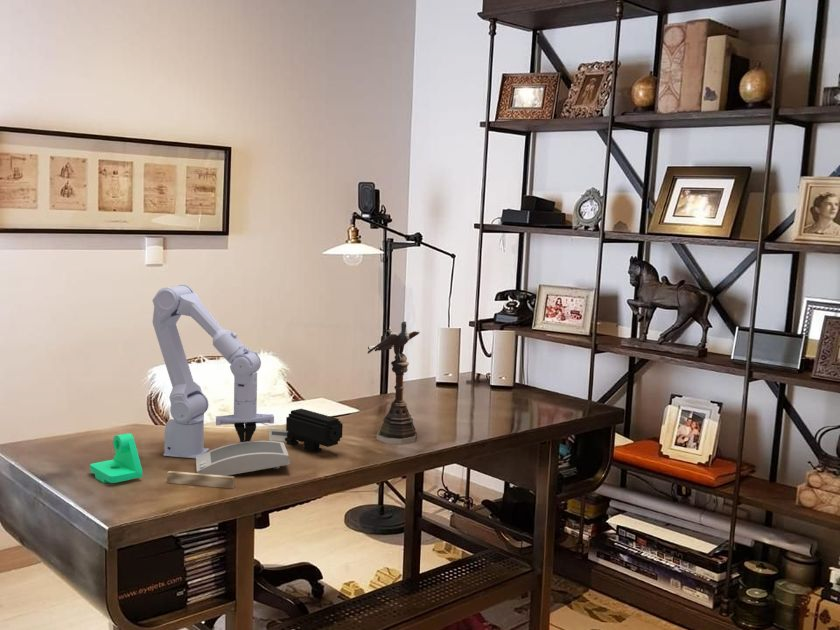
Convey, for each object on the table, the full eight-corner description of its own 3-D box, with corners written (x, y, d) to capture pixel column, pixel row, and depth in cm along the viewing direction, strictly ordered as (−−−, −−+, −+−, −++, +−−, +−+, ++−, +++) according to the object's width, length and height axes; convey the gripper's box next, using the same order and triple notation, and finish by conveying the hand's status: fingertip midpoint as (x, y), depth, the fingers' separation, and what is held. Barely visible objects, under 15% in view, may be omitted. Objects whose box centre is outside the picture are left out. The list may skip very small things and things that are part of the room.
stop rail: (167, 482, 198) (167, 472, 198) (169, 481, 199) (169, 470, 199) (232, 488, 196) (232, 478, 196) (234, 486, 197) (234, 476, 197)
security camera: (297, 440, 237) (298, 405, 236) (343, 454, 225) (344, 418, 224) (278, 445, 232) (279, 409, 231) (324, 460, 220) (325, 422, 219)
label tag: (268, 440, 236) (269, 428, 235) (269, 440, 236) (269, 427, 236) (289, 442, 235) (289, 429, 234) (290, 441, 235) (290, 429, 235)
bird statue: (354, 433, 246) (357, 315, 241) (388, 427, 255) (393, 312, 250) (389, 447, 234) (394, 322, 229) (425, 440, 242) (430, 320, 238)
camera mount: (88, 474, 202) (88, 432, 200) (119, 468, 207) (119, 427, 206) (111, 488, 193) (111, 444, 192) (142, 481, 199) (142, 439, 197)
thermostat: (196, 466, 212) (195, 443, 211) (285, 461, 218) (285, 439, 217) (196, 481, 201) (196, 456, 201) (290, 475, 207) (290, 452, 207)
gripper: (272, 395, 221) (271, 445, 223) (215, 396, 217) (214, 447, 219) (275, 401, 214) (274, 453, 216) (216, 403, 210) (216, 455, 212)
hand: (244, 451), depth 217 cm, fingers closed
